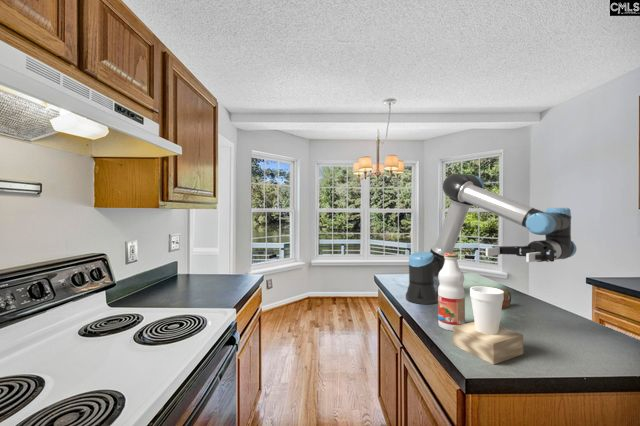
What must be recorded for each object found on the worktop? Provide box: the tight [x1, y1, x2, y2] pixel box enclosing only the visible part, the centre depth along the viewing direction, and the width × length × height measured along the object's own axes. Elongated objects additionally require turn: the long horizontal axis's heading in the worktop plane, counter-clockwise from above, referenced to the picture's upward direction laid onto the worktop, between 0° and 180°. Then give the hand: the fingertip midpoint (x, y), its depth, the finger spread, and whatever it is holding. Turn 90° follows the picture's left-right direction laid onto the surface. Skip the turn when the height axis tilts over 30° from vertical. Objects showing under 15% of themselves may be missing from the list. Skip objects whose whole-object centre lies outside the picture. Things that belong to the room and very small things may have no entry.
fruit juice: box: [437, 252, 466, 332], centre depth 112 cm, size 9×9×28 cm
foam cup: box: [469, 285, 504, 335], centre depth 94 cm, size 10×9×13 cm
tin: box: [499, 288, 512, 310], centre depth 134 cm, size 15×3×8 cm, turn 117°
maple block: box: [452, 321, 524, 365], centre depth 94 cm, size 14×14×6 cm
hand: (505, 254), depth 98 cm, fingers open, 13 cm apart
